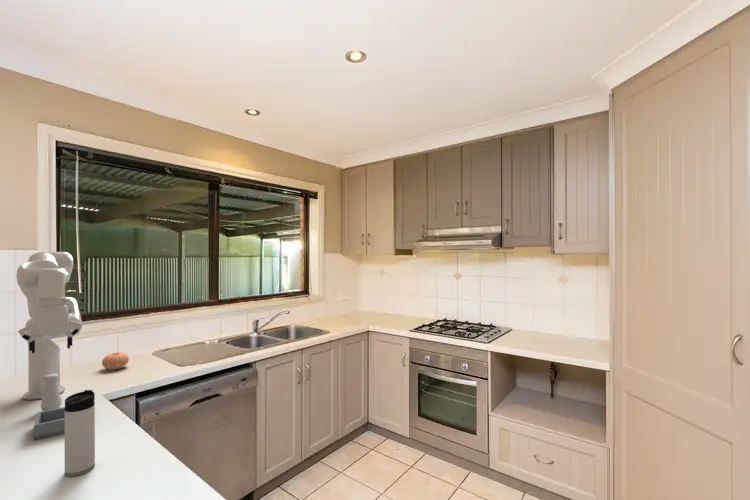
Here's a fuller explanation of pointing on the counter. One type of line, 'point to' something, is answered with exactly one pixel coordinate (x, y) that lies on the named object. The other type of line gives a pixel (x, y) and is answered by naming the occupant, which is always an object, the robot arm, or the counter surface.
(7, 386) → the counter surface
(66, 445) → the travel mug
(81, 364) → the counter surface
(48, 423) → the box
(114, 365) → the orange pumpkin
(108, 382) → the counter surface
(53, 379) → the salt shaker
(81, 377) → the counter surface
